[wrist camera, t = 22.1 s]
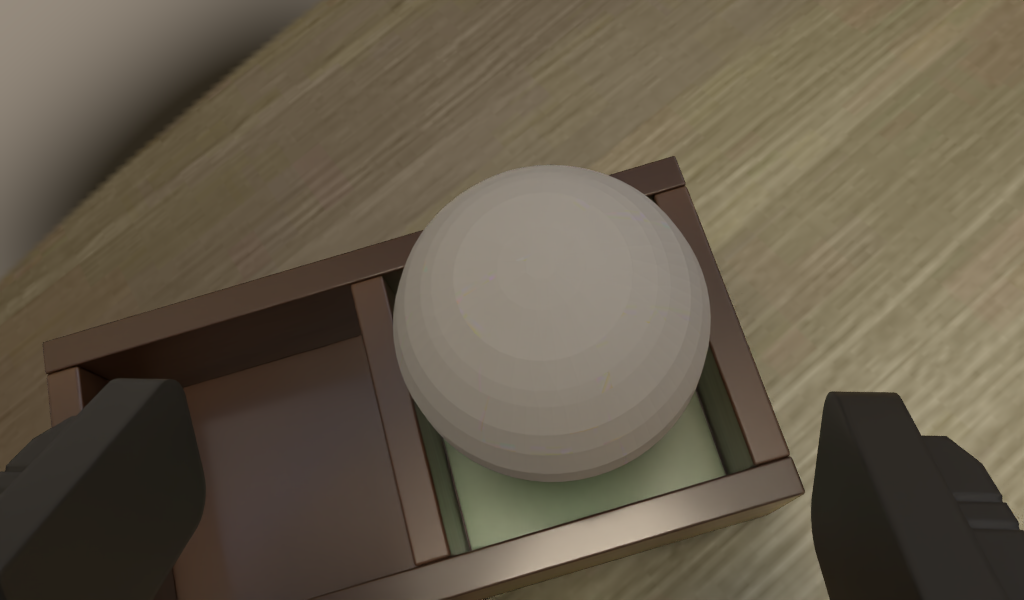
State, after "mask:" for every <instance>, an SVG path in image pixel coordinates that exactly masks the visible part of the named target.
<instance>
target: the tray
mask: <svg viewBox="0 0 1024 600" xmlns="http://www.w3.org/2000/svg"><path fill="white" fill-rule="evenodd" d="M609 176H611V177H614V178H616V179H618V180H621V181H623V182H624V183H626V184H628V185H630V186H632V187H634V188H635V189H637V190H638V191H640V192H641V193H643V194H644V195H645V196H647V197H648V198H649V199H650V200H652V201H653V202H654V203H655V204H656V205H657V206H658V207H659V208H660V209H661V210H662V211H663V212H665V213H666V215H667V216H668V217H669V218H670V219H671V221H672V222H673V223H674V224H675V225H676V227H677V228H678V229H679V231H680V232H681V233H682V235H683V236H684V238H685V239H686V241H687V242H688V244H689V245H690V247H691V249H692V250H693V252H694V254H695V256H696V258H697V260H698V262H699V265H700V267H701V270H702V272H703V275H704V279H705V282H706V286H707V290H708V296H709V301H710V314H711V324H710V338H709V345H708V350H707V354H706V358H705V362H704V366H703V369H702V373H701V376H700V379H699V382H698V384H697V387H696V390H695V392H694V394H693V396H692V398H691V400H690V402H689V404H688V405H687V407H686V409H685V410H684V412H683V413H682V415H681V416H680V418H679V419H678V420H677V422H676V423H675V424H674V426H673V427H672V428H671V429H670V430H669V431H668V432H667V433H666V434H665V435H664V436H663V438H662V439H660V440H659V441H658V442H657V443H656V444H655V445H653V446H652V447H651V448H650V449H649V450H647V451H646V452H644V453H643V454H642V455H640V456H639V457H637V458H636V459H634V460H632V461H630V462H628V463H627V464H625V465H623V466H621V467H619V468H616V469H614V470H612V471H609V472H607V473H603V474H600V475H597V476H594V477H590V478H585V479H581V480H574V481H565V482H539V481H529V480H524V479H519V478H514V477H510V476H507V475H504V474H500V473H498V472H495V471H493V470H490V469H488V468H485V467H484V466H482V465H480V464H478V463H476V462H474V461H472V460H471V459H469V458H468V457H466V456H465V455H463V454H462V453H460V452H459V451H458V450H456V449H455V448H454V447H453V446H451V445H450V444H449V443H448V442H447V441H446V440H445V439H444V438H443V437H442V436H441V435H440V434H439V433H438V432H437V431H436V430H435V428H434V427H433V426H432V425H431V423H430V422H429V421H428V420H427V418H426V417H425V415H424V414H423V413H422V411H421V410H420V408H419V407H418V405H417V404H416V402H415V401H414V399H413V398H412V396H411V394H410V392H409V390H408V388H407V386H406V384H405V381H404V379H403V376H402V374H401V371H400V368H399V364H398V360H397V357H396V351H395V345H394V336H393V314H394V305H395V299H396V294H397V290H398V286H399V282H400V279H401V276H402V273H403V270H404V267H405V264H406V261H407V259H408V257H409V255H410V252H411V250H412V248H413V246H414V245H415V243H416V241H417V240H418V238H419V236H420V235H421V233H422V232H423V230H422V231H418V232H415V233H412V234H408V235H405V236H401V237H398V238H395V239H391V240H388V241H385V242H381V243H378V244H374V245H371V246H368V247H364V248H361V249H357V250H354V251H351V252H347V253H344V254H341V255H337V256H334V257H330V258H327V259H324V260H320V261H317V262H314V263H310V264H307V265H303V266H300V267H297V268H293V269H290V270H286V271H283V272H280V273H276V274H273V275H270V276H266V277H263V278H259V279H256V280H253V281H249V282H246V283H242V284H239V285H236V286H232V287H229V288H226V289H222V290H219V291H215V292H212V293H209V294H205V295H202V296H198V297H195V298H192V299H188V300H185V301H182V302H178V303H175V304H171V305H168V306H165V307H161V308H158V309H154V310H151V311H148V312H144V313H141V314H138V315H134V316H131V317H127V318H124V319H121V320H117V321H114V322H110V323H107V324H104V325H100V326H97V327H94V328H90V329H87V330H83V331H80V332H77V333H73V334H70V335H66V336H63V337H60V338H56V339H53V340H50V341H46V342H43V353H44V363H45V372H46V374H48V376H47V385H48V395H49V405H50V415H51V426H52V427H54V426H56V425H57V424H59V423H61V422H62V421H64V420H66V419H67V418H69V417H71V416H77V415H78V413H79V412H80V411H81V410H82V409H83V408H84V407H85V406H86V405H87V404H88V403H89V402H90V401H91V400H92V399H93V398H94V397H95V396H96V395H97V394H98V393H99V392H100V391H101V390H102V389H103V388H104V387H105V386H106V384H108V383H109V382H110V381H111V380H113V379H117V378H136V379H174V380H176V381H178V382H179V383H180V384H181V386H182V388H183V390H184V392H185V395H186V398H187V403H188V407H189V411H190V415H191V420H192V424H193V428H194V433H195V437H196V441H197V445H198V450H199V454H200V458H201V463H202V467H203V471H204V476H205V482H206V499H205V506H204V511H203V515H202V518H201V521H200V523H199V525H198V527H197V529H196V531H195V532H194V534H193V536H192V537H191V539H190V540H189V542H188V544H187V545H186V547H185V548H184V550H183V552H182V553H181V555H180V556H179V558H178V560H177V561H176V563H175V565H174V566H173V568H172V569H171V571H170V573H169V574H168V576H167V577H166V579H165V581H164V582H163V584H162V585H161V587H160V589H159V590H158V592H157V594H156V595H155V597H154V598H153V600H481V599H485V598H488V597H492V596H495V595H498V594H502V593H505V592H508V591H512V590H515V589H519V588H522V587H525V586H529V585H532V584H535V583H539V582H542V581H546V580H549V579H552V578H556V577H559V576H562V575H566V574H569V573H573V572H576V571H579V570H583V569H586V568H589V567H593V566H596V565H600V564H603V563H606V562H610V561H613V560H616V559H620V558H623V557H627V556H630V555H633V554H637V553H640V552H643V551H647V550H650V549H654V548H657V547H660V546H664V545H667V544H670V543H674V542H677V541H681V540H684V539H687V538H691V537H694V536H697V535H701V534H704V533H708V532H711V531H714V530H718V529H721V528H724V527H728V526H731V525H735V524H738V523H741V522H745V521H748V520H751V519H755V518H758V517H762V516H765V515H768V514H770V513H772V512H774V511H776V510H777V509H779V508H781V507H782V506H784V505H786V504H788V503H789V502H791V501H793V500H794V499H796V498H798V497H800V496H801V495H803V494H804V493H805V490H804V487H803V485H802V482H801V480H800V477H799V474H798V472H797V469H796V467H795V464H794V462H793V459H792V458H791V457H788V456H789V455H790V452H789V449H788V447H787V444H786V442H785V439H784V436H783V434H782V431H781V429H780V426H779V423H778V421H777V418H776V416H775V413H774V411H773V408H772V405H771V403H770V400H769V398H768V395H767V393H766V390H765V387H764V385H763V382H762V380H761V377H760V375H759V372H758V369H757V367H756V364H755V362H754V359H753V357H752V354H751V351H750V349H749V346H748V344H747V341H746V338H745V336H744V333H743V331H742V328H741V326H740V323H739V320H738V318H737V315H736V313H735V310H734V308H733V305H732V302H731V300H730V297H729V295H728V292H727V290H726V287H725V284H724V282H723V279H722V277H721V274H720V271H719V269H718V266H717V264H716V261H715V259H714V256H713V253H712V251H711V248H710V246H709V243H708V241H707V238H706V235H705V233H704V230H703V228H702V225H701V223H700V220H699V217H698V215H697V212H696V210H695V207H694V205H693V202H692V199H691V197H690V194H689V192H688V189H687V188H686V186H685V181H684V178H683V175H682V173H681V170H680V168H679V165H678V163H677V160H676V158H675V156H672V157H669V158H665V159H662V160H659V161H655V162H652V163H649V164H645V165H642V166H638V167H635V168H632V169H628V170H625V171H621V172H618V173H615V174H611V175H609Z"/></svg>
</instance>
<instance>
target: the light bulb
mask: <svg viewBox="0 0 1024 600" xmlns="http://www.w3.org/2000/svg"><path fill="white" fill-rule="evenodd" d="M710 324H711V314H710V301H709V296H708V290H707V286H706V282H705V279H704V275H703V272H702V270H701V267H700V265H699V262H698V260H697V258H696V256H695V254H694V252H693V250H692V249H691V247H690V245H689V244H688V242H687V241H686V239H685V238H684V236H683V235H682V233H681V232H680V231H679V229H678V228H677V227H676V225H675V224H674V223H673V222H672V221H671V219H670V218H669V217H668V216H667V215H666V213H665V212H663V211H662V210H661V209H660V208H659V207H658V206H657V205H656V204H655V203H654V202H653V201H652V200H650V199H649V198H648V197H647V196H645V195H644V194H643V193H641V192H640V191H638V190H637V189H635V188H634V187H632V186H630V185H628V184H626V183H624V182H623V181H621V180H618V179H616V178H614V177H611V176H609V175H606V174H603V173H600V172H597V171H593V170H589V169H584V168H579V167H572V166H564V165H537V166H529V167H523V168H518V169H514V170H510V171H507V172H503V173H500V174H497V175H495V176H493V177H490V178H488V179H486V180H484V181H482V182H480V183H478V184H476V185H474V186H472V187H471V188H469V189H467V190H466V191H464V192H463V193H461V194H460V195H458V196H457V197H456V198H454V199H453V200H452V201H451V202H449V203H448V204H447V205H446V206H445V207H444V208H443V209H442V210H441V211H440V212H438V213H437V215H436V216H435V217H434V218H433V219H432V220H431V221H430V223H429V224H428V225H427V226H426V228H425V229H424V230H423V232H422V233H421V235H420V236H419V238H418V240H417V241H416V243H415V245H414V246H413V248H412V250H411V252H410V255H409V257H408V259H407V261H406V264H405V267H404V270H403V273H402V276H401V279H400V282H399V286H398V290H397V294H396V299H395V305H394V314H393V336H394V345H395V351H396V357H397V360H398V364H399V368H400V371H401V374H402V376H403V379H404V381H405V384H406V386H407V388H408V390H409V392H410V394H411V396H412V398H413V399H414V401H415V402H416V404H417V405H418V407H419V408H420V410H421V411H422V413H423V414H424V415H425V417H426V418H427V420H428V421H429V422H430V423H431V425H432V426H433V427H434V428H435V430H436V431H437V432H438V433H439V434H440V435H441V436H442V437H443V438H444V439H445V440H446V441H447V442H448V443H449V444H450V445H451V446H453V447H454V448H455V449H456V450H458V451H459V452H460V453H462V454H463V455H465V456H466V457H468V458H469V459H471V460H472V461H474V462H476V463H478V464H480V465H482V466H484V467H485V468H488V469H490V470H493V471H495V472H498V473H500V474H504V475H507V476H510V477H514V478H519V479H524V480H529V481H539V482H565V481H574V480H581V479H585V478H590V477H594V476H597V475H600V474H603V473H607V472H609V471H612V470H614V469H616V468H619V467H621V466H623V465H625V464H627V463H628V462H630V461H632V460H634V459H636V458H637V457H639V456H640V455H642V454H643V453H644V452H646V451H647V450H649V449H650V448H651V447H652V446H653V445H655V444H656V443H657V442H658V441H659V440H660V439H662V438H663V436H664V435H665V434H666V433H667V432H668V431H669V430H670V429H671V428H672V427H673V426H674V424H675V423H676V422H677V420H678V419H679V418H680V416H681V415H682V413H683V412H684V410H685V409H686V407H687V405H688V404H689V402H690V400H691V398H692V396H693V394H694V392H695V390H696V387H697V384H698V382H699V379H700V376H701V373H702V369H703V366H704V362H705V358H706V354H707V350H708V345H709V338H710Z"/></svg>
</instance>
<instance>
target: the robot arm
mask: <svg viewBox="0 0 1024 600" xmlns="http://www.w3.org/2000/svg"><path fill="white" fill-rule="evenodd" d="M205 499H206V482H205V476H204V471H203V467H202V463H201V458H200V454H199V450H198V445H197V441H196V437H195V433H194V428H193V424H192V420H191V415H190V411H189V407H188V403H187V398H186V395H185V392H184V390H183V388H182V386H181V384H180V383H179V382H178V381H176V380H174V379H136V378H117V379H113V380H111V381H110V382H109V383H108V384H106V386H105V387H104V388H103V389H102V390H101V391H100V392H99V393H98V394H97V395H96V396H95V397H94V398H93V399H92V400H91V401H90V402H89V403H88V404H87V405H86V406H85V407H84V408H83V409H82V410H81V411H80V412H79V413H78V415H77V416H71V417H69V418H67V419H66V420H64V421H62V422H61V423H59V424H57V425H56V426H54V427H52V428H50V429H49V430H47V431H45V432H44V433H42V434H40V435H39V436H37V437H35V438H34V439H32V440H31V441H30V442H29V443H28V444H27V445H26V446H25V447H24V448H23V449H22V450H21V451H20V452H19V453H18V454H17V455H16V456H15V457H14V458H13V459H12V460H11V461H10V462H9V463H8V464H7V465H6V470H5V472H0V600H153V598H154V597H155V595H156V594H157V592H158V590H159V589H160V587H161V585H162V584H163V582H164V581H165V579H166V577H167V576H168V574H169V573H170V571H171V569H172V568H173V566H174V565H175V563H176V561H177V560H178V558H179V556H180V555H181V553H182V552H183V550H184V548H185V547H186V545H187V544H188V542H189V540H190V539H191V537H192V536H193V534H194V532H195V531H196V529H197V527H198V525H199V523H200V521H201V518H202V515H203V511H204V506H205ZM811 522H812V534H813V541H814V546H815V551H816V554H817V558H818V561H819V564H820V568H821V571H822V575H823V578H824V581H825V585H826V588H827V591H828V595H829V598H830V600H1024V531H1023V530H1019V523H1018V521H1017V519H1016V518H1015V516H1014V514H1013V513H1012V511H1011V510H1010V508H1009V506H1008V505H1007V503H1003V502H1002V495H1001V493H1000V492H999V490H998V489H997V487H996V485H995V484H994V482H993V480H992V479H991V477H990V476H989V474H988V472H987V471H986V469H985V467H984V466H983V464H982V463H980V462H979V461H978V460H977V459H975V458H974V457H973V456H971V455H970V454H969V453H967V452H966V451H965V450H964V449H962V448H961V447H960V446H958V445H957V444H956V443H955V442H953V441H952V440H951V439H949V438H948V437H947V436H921V434H920V432H919V431H918V429H917V427H916V425H915V423H914V421H913V419H912V418H911V416H910V414H909V412H908V410H907V408H906V406H905V405H904V403H903V401H902V399H901V398H900V396H899V395H898V394H897V393H888V392H829V393H828V395H827V397H826V400H825V403H824V408H823V415H822V423H821V431H820V438H819V446H818V454H817V461H816V469H815V477H814V485H813V492H812V503H811Z"/></svg>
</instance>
